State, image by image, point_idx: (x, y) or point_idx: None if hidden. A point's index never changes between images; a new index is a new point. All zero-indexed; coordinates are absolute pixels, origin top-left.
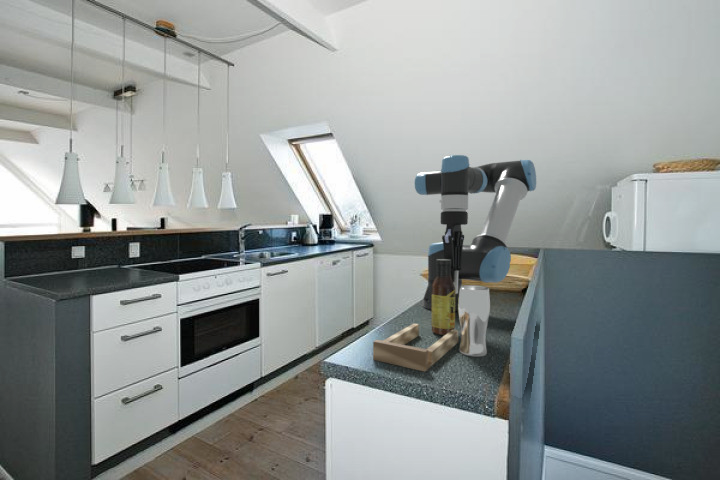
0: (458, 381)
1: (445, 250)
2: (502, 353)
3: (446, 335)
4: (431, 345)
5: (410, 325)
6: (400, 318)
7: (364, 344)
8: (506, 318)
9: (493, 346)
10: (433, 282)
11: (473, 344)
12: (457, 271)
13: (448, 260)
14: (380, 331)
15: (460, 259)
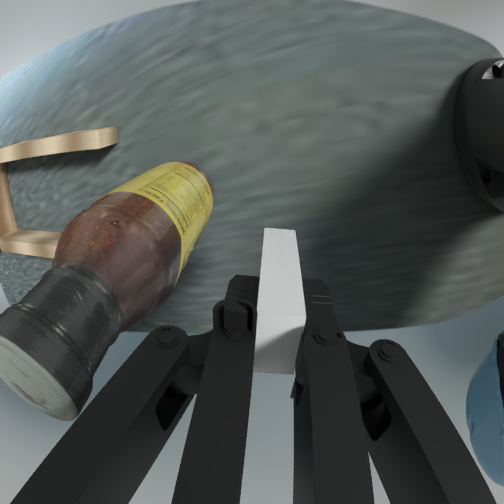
0: (13, 281)
1: (51, 472)
2: (129, 330)
3: None
4: (14, 241)
5: (77, 134)
6: (282, 4)
7: (18, 83)
8: (422, 318)
9: (155, 317)
10: (65, 231)
11: None
12: (269, 369)
13: (29, 402)
14: (100, 37)
15: (368, 442)
